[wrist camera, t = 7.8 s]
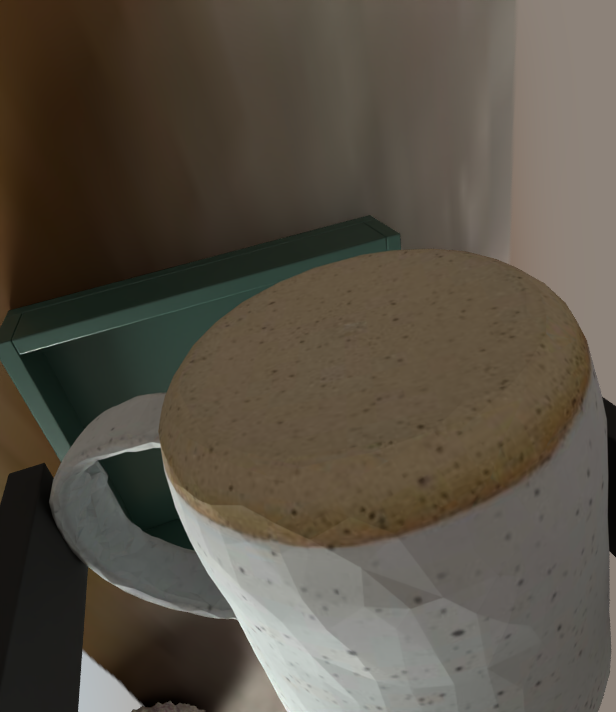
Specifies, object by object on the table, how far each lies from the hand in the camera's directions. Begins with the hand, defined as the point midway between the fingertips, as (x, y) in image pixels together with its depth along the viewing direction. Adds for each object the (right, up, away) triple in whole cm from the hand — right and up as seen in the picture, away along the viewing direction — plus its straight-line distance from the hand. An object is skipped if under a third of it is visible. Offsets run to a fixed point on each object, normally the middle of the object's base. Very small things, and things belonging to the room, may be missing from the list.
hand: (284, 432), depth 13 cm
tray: (-4, 0, +18) cm, 19 cm away
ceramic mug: (0, 0, 0) cm, 0 cm away
